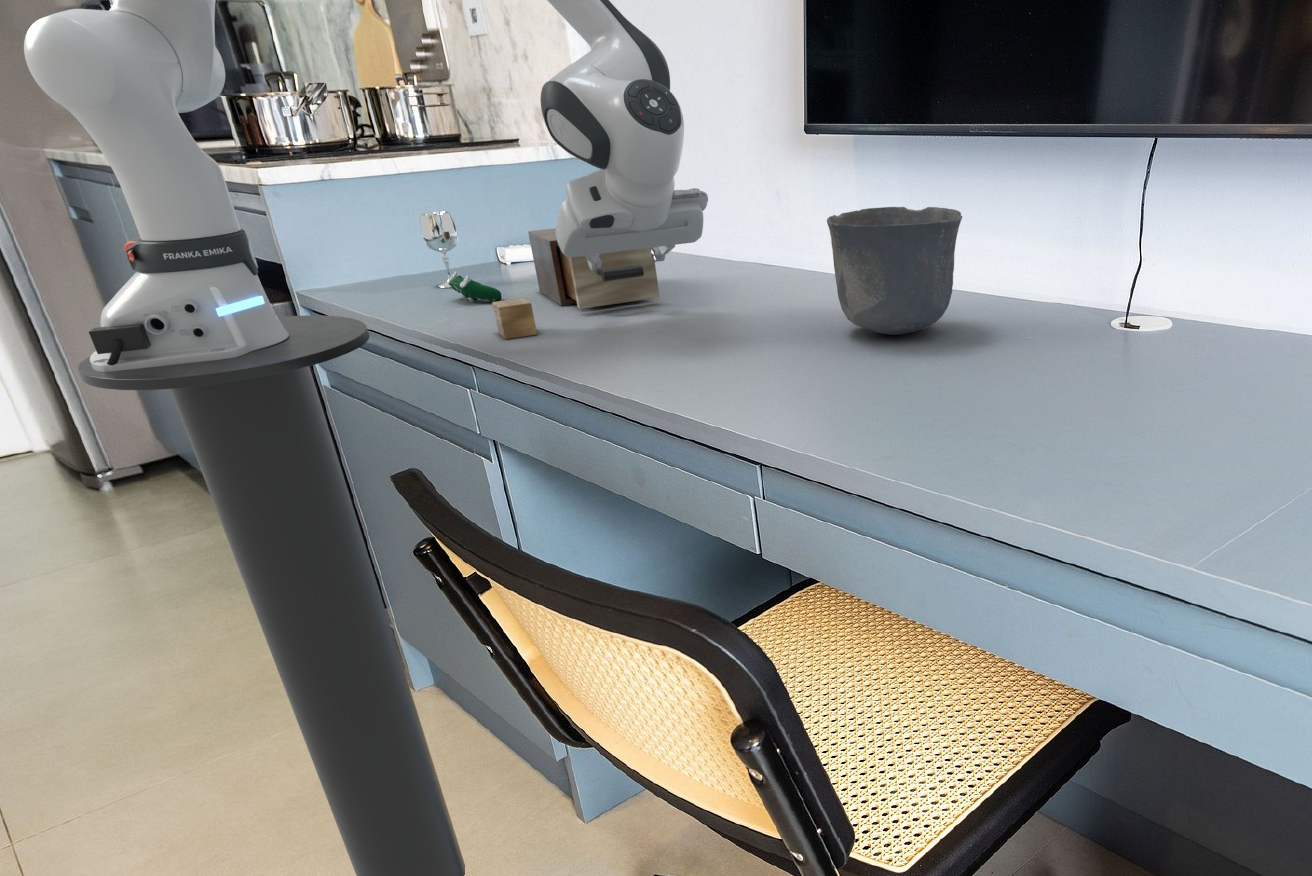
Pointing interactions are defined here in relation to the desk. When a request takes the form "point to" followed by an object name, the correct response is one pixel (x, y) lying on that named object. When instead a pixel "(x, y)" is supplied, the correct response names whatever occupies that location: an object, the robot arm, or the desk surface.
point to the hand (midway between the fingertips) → (626, 261)
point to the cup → (894, 266)
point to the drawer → (610, 278)
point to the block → (514, 318)
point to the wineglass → (439, 235)
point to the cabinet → (548, 266)
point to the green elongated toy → (473, 289)
